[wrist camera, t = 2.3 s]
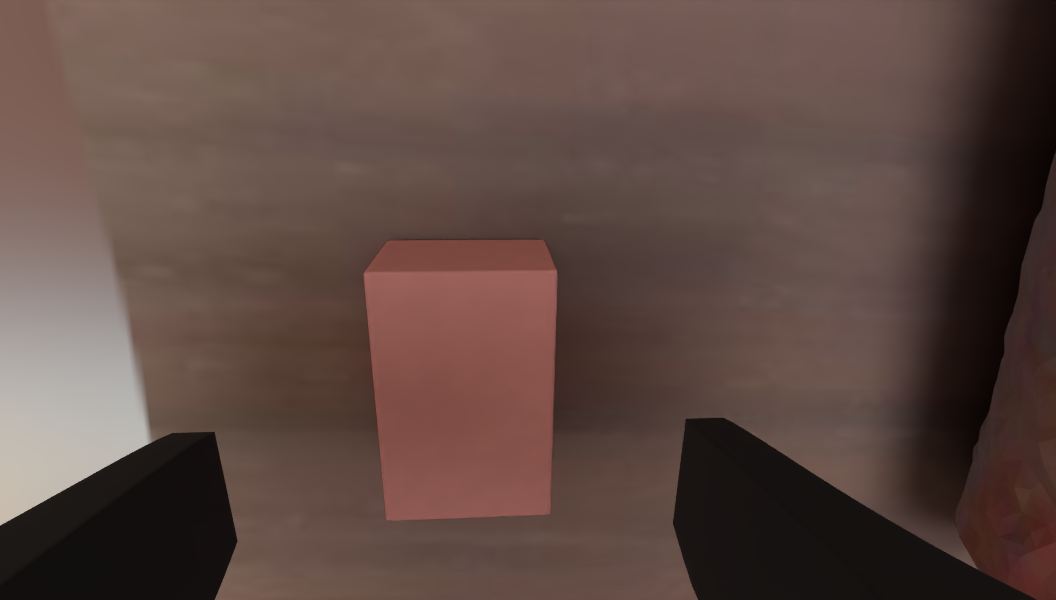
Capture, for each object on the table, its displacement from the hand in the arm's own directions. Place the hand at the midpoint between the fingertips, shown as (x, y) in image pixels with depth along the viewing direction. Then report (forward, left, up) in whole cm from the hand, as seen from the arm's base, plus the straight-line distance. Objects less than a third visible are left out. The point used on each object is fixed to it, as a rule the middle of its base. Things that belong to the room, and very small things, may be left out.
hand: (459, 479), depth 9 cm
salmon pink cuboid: (0, 0, -5) cm, 5 cm away
